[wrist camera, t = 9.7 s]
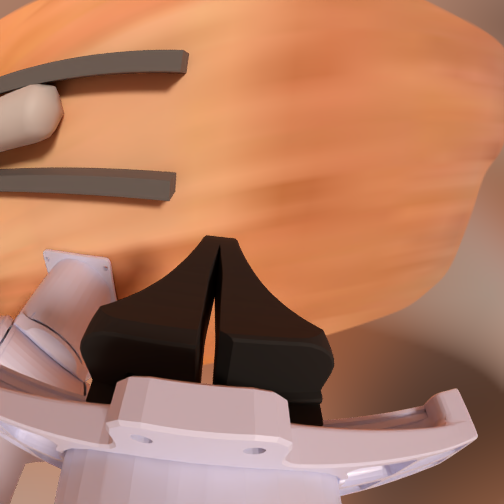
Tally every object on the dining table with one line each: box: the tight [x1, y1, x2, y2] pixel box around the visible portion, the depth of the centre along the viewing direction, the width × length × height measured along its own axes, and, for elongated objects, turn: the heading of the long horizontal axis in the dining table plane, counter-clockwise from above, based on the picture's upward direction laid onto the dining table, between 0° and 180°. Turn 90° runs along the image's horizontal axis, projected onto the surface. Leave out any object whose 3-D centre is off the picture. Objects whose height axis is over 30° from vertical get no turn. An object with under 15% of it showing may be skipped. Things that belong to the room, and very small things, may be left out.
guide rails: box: [0, 50, 189, 201], centre depth 16 cm, size 10×24×2 cm, turn 81°
